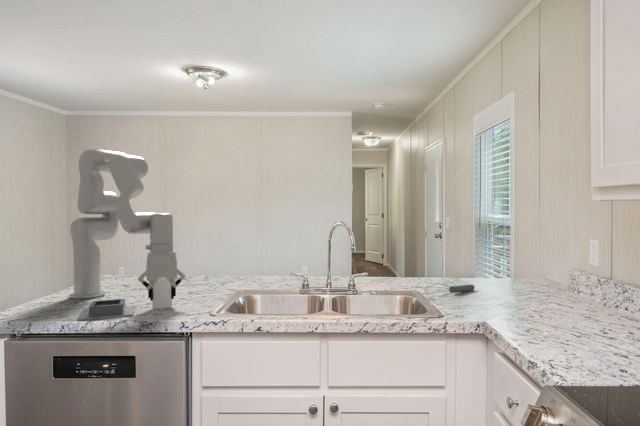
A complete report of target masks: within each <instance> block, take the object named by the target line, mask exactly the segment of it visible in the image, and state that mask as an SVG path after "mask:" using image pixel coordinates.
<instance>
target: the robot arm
mask: <svg viewBox="0 0 640 426" xmlns="http://www.w3.org/2000/svg"><path fill="white" fill-rule="evenodd" d="M78 172H79V173H78V174H79V186H78V196H77V210H78V211H79V212H80V213H81V214H85V215H101V216H99V217H98V216H97V217H96V216H88V217H87V216H86V217H85V216H84V217H79V218H75V219H74V220H73V221H72V222H71V223H70V227H69V231H70V235H71V241H72V242H71V243H72V251H73V253H72V255H73V257H72V258H73V292H72V293H69V295H68V296H69V298H71V299H76V300H77V299H80V300H81V299H91V298H99V297H102V296H105V295H106V291H105V290H101V288H102V287H101V284H102V282H101V281H102V280H101V279H102V278H101V250H100V247H99V246H98V244H97V242H96V241H107V240H112V239H113V238H115V237H116V235H117V232H118V229H119V224H120V225H121V228H122V229H123V230H124V231H125V232H126V233H128V234H130V235H138V234H139V235H140V234H142V235H143V234H149V240H150V241H149V244H148V245H145V250H149V251H150V252H147V257H146V270H145V271H144V272H143V273H142V274H141V275H140V276H138V277H137V281H138V282H140V283H141V284H142V285H143V286H144V287H145V288H146V289H147V291H148V292H147V294H148V297H147V298H148V299H150V300H149V301H150V302H152V300H153V289H152V285H153V282H156V281H157V280H158V278H160V277H165V278H166V279H167V280H168V281H171V283H172V300H174V299H175V298H174V297H176V295H177V291H176V288H177V286H179V284H180V283H181V282H182V281H183V280H185V278H186V275H185V274H184V273H183V272H182V271H181V270H180V269H179V268H178V260H177V259H178V258H177V254H176V251H174V224H173V223H174V221H173V219H174V217H173V215H172V214H171V213H169V212H143V211H141V212H134V210H133V209H132V206H131V204H130V200H132V199H134V198H136V197H138V196H140V195H141V194H142V193H143V191H144V189H145V186H144V184H143V182H142V180H141V179H143V178H145V177H146V176H147V175H148V172H149V165H148V163H147V160H146V159H145V158H143V157H141V156H138V155H135V154H130V153H127V152H122V151H114V150H107V149H100V148H88V149H85V150H83V151H82V153H80V156H79V158H78ZM101 172H105V173H110V174H111V176H112V178H113V181H114V183H115V186H116V187H117V190H118V192H119V195H118V194H116V192H114V191H109V190H108V191H105V190H104V186H105V180H104V177H103V175H102V174H101ZM178 275H179V277H178ZM144 278H146V280H145V279H144ZM177 278H178V279H177ZM176 279H177V280H176Z"/></svg>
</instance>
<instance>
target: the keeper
mask: <svg viewBox="0 0 640 426" xmlns="http://www.w3.org/2000/svg"><path fill="white" fill-rule="evenodd" d="M135 309H136V305H126V298H113V299H103V300H102V299H101V300H93V301H92V302H91V304H90V305H89V306H88V308H84V309H83V310H82V312H81V313H80V314H79V316H78V317H77V318H76V322H78V321H79V322H80V321H91V320H103V319H114V318H124V317H125V318H126V317H134V314H135Z"/></svg>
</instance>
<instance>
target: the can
mask: <svg viewBox="0 0 640 426" xmlns="http://www.w3.org/2000/svg"><path fill="white" fill-rule="evenodd" d="M152 289H153V300H152V301H151V303H152V309H153V308H154V309H153V310H156V309H162V310H167V309H166V308H168V309H171V308H172V306H173V299H172V283H171V281H168V280H167V279H166V278H165V277H160V278H158V280H157V281H156V282H153V285H152Z"/></svg>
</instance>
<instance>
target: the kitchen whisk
mask: <svg viewBox="0 0 640 426" xmlns="http://www.w3.org/2000/svg"><path fill="white" fill-rule="evenodd" d="M429 285H432V286H430V287H429ZM436 285H439V282H434V286H436ZM440 285H441V286H445V287H446V290H447V292H448V291H449V292H448V293H445V294H442V295H439V298H440V297H444V298H447V296H449V295H450V294H457V293H464V292H471V291H474V290H475V287H476V285H475V284H460V285H451V286H449V285H447V284H444V283H443V284H442V283H440ZM430 288H433V282H432V283H431V282H430V283H429V284H427V285H426V287H425V289H423V290H424V293H425V296H426V299H428V297H427V296H428V295H431V296H433V297H436V295H434V294H432V292H434V291H436V289H433V290H432V292H431V291H429V290H430ZM436 288H438V289H437V291H438V292H434V293H435V294H436V293H437V294H438V293H439V291H440V290H442V287H440V286H436ZM430 292H431V293H430ZM443 292H445V290H444V291H443V290H442V291H441V293H443ZM429 300H432V301H434V298H433V299H432V298H431V297H429Z"/></svg>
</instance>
